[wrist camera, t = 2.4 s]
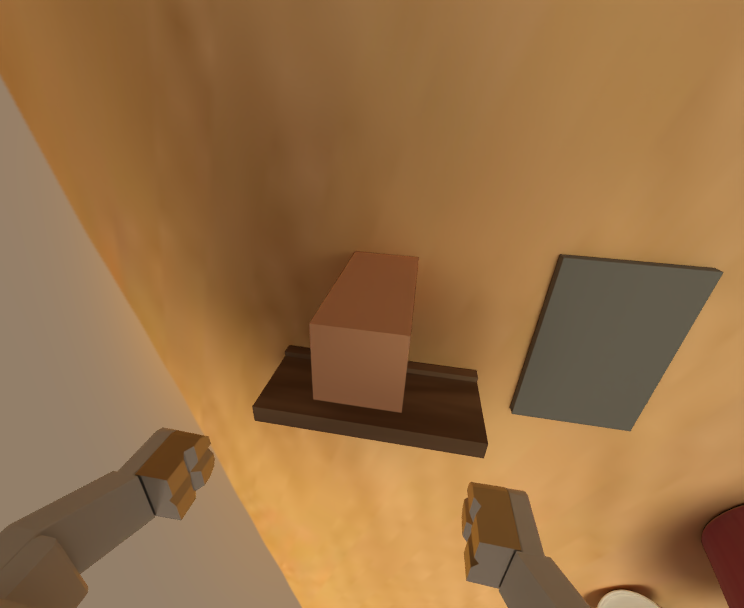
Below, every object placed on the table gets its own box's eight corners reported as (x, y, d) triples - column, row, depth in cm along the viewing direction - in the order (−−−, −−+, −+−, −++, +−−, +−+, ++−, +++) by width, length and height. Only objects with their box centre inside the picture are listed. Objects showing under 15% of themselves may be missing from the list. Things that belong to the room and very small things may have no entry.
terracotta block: (355, 251, 21) (309, 323, 13) (418, 257, 20) (410, 336, 12) (354, 306, 23) (313, 399, 15) (412, 313, 22) (401, 412, 14)
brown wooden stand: (289, 345, 25) (251, 401, 20) (476, 370, 23) (489, 439, 18) (293, 394, 27) (260, 456, 22) (464, 420, 26) (472, 494, 21)
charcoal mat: (560, 254, 19) (564, 257, 18) (715, 268, 18) (723, 272, 17) (510, 407, 25) (511, 413, 24) (625, 424, 24) (630, 431, 23)
